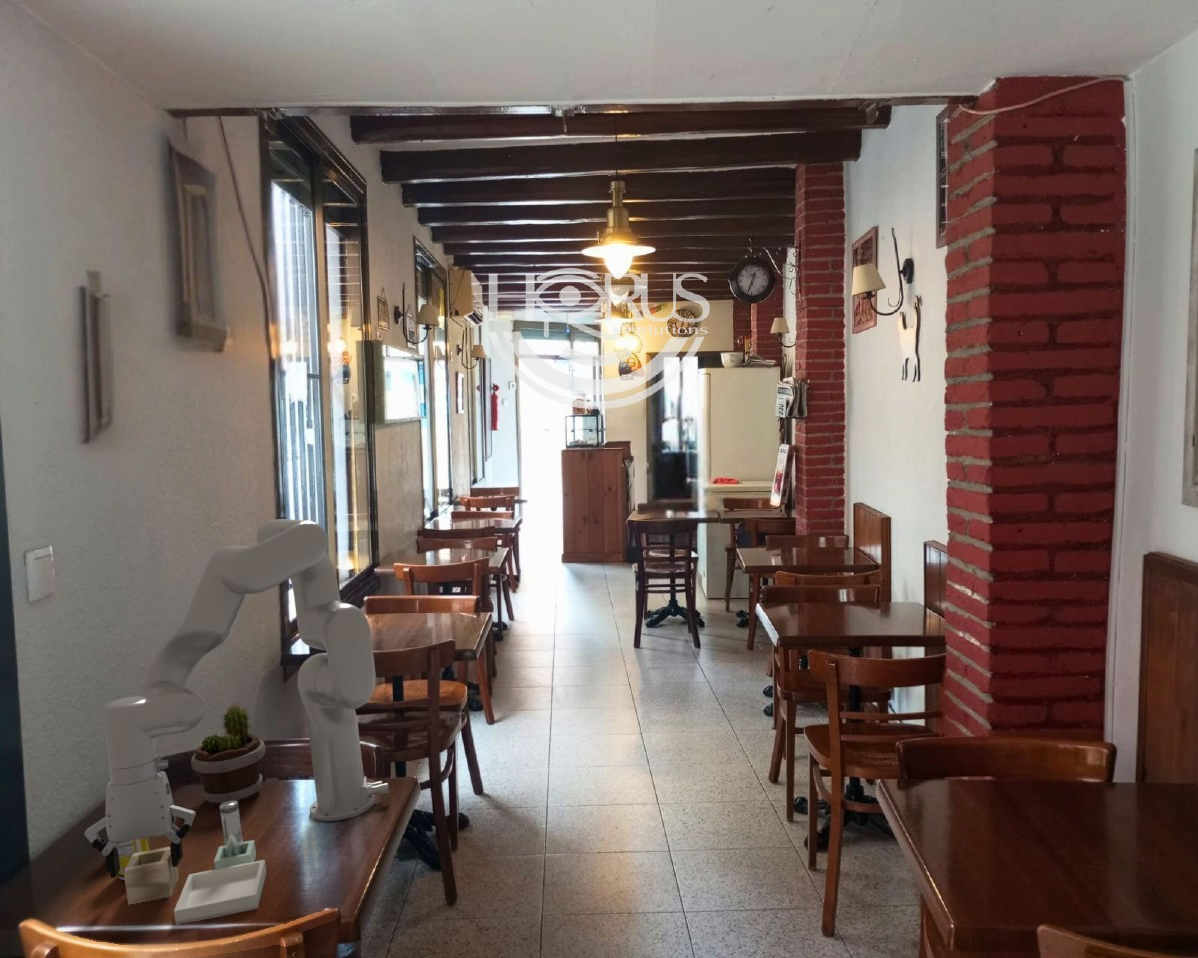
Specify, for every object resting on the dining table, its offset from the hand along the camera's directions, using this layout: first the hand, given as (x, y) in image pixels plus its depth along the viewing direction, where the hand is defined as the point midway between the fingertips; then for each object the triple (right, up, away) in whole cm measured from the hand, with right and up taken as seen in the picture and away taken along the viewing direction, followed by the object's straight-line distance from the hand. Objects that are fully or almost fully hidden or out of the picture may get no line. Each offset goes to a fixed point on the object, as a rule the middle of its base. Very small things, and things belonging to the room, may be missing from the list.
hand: (146, 868), depth 159 cm
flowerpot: (0, -1, +39) cm, 40 cm away
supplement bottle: (-6, -5, +8) cm, 11 cm away
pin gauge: (+12, -2, +8) cm, 15 cm away
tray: (+15, -3, -4) cm, 15 cm away
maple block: (+1, -4, +1) cm, 4 cm away
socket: (+12, -3, +8) cm, 15 cm away
